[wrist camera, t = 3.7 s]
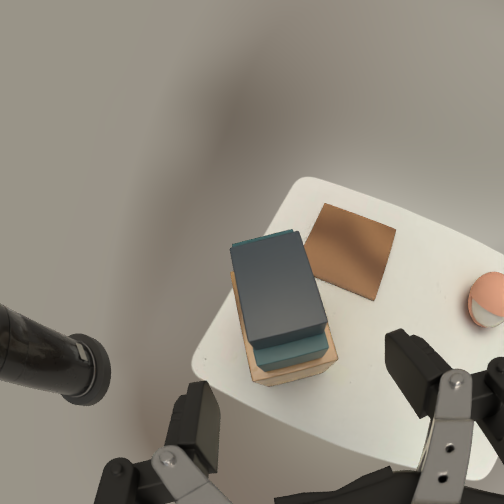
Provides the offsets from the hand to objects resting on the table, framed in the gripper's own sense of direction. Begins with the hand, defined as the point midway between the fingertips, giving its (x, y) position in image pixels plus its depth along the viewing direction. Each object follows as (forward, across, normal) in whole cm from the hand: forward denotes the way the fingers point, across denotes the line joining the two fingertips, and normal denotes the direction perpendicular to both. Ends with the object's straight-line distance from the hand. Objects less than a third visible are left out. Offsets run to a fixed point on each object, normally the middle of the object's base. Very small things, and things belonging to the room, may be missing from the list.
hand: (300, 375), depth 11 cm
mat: (+28, -12, +5) cm, 31 cm away
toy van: (+12, 0, +3) cm, 12 cm away
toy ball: (+17, -29, +16) cm, 37 cm away
